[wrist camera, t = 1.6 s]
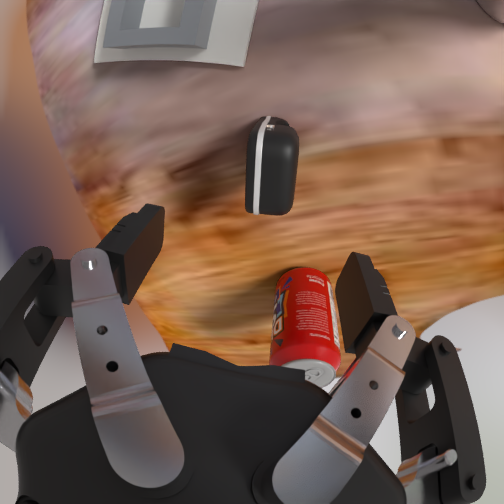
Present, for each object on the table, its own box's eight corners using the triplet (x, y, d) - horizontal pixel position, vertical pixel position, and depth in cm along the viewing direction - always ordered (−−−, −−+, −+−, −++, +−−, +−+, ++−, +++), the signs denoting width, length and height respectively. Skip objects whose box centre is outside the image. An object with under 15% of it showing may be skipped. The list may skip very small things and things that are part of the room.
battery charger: (291, 177, 31) (293, 227, 21) (257, 174, 31) (243, 222, 22) (297, 116, 27) (303, 137, 17) (260, 113, 27) (246, 132, 18)
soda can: (342, 284, 39) (356, 375, 26) (302, 312, 42) (303, 400, 30) (303, 252, 36) (307, 348, 24) (264, 285, 40) (252, 377, 28)
